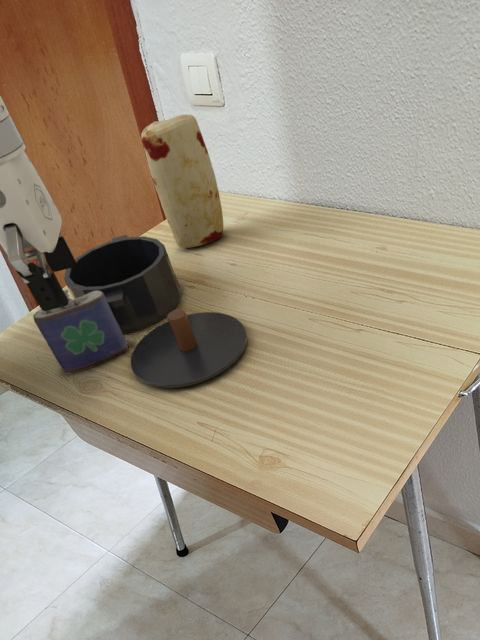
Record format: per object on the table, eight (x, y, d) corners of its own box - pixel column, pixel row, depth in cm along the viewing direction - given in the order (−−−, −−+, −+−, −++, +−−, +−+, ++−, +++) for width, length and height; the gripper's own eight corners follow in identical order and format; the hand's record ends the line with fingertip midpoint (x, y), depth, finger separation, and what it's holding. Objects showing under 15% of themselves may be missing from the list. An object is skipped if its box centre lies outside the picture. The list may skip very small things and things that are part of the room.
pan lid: (132, 404, 73) (112, 366, 68) (134, 335, 84) (117, 298, 80) (255, 372, 73) (243, 332, 69) (241, 308, 84) (230, 270, 80)
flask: (127, 342, 83) (95, 275, 75) (131, 352, 81) (98, 285, 73) (62, 366, 81) (23, 300, 73) (65, 378, 79) (24, 311, 71)
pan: (81, 355, 82) (56, 310, 77) (91, 285, 97) (71, 243, 91) (183, 329, 83) (165, 282, 78) (178, 263, 97) (163, 220, 92)
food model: (183, 258, 98) (139, 132, 84) (171, 244, 103) (128, 122, 89) (236, 238, 101) (202, 112, 87) (223, 225, 105) (188, 103, 91)
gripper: (3, 163, 55) (85, 315, 67) (30, 112, 67) (95, 248, 79) (-76, 183, 55) (20, 332, 66) (-34, 128, 67) (40, 262, 79)
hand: (60, 286), depth 73 cm, fingers open, 9 cm apart
